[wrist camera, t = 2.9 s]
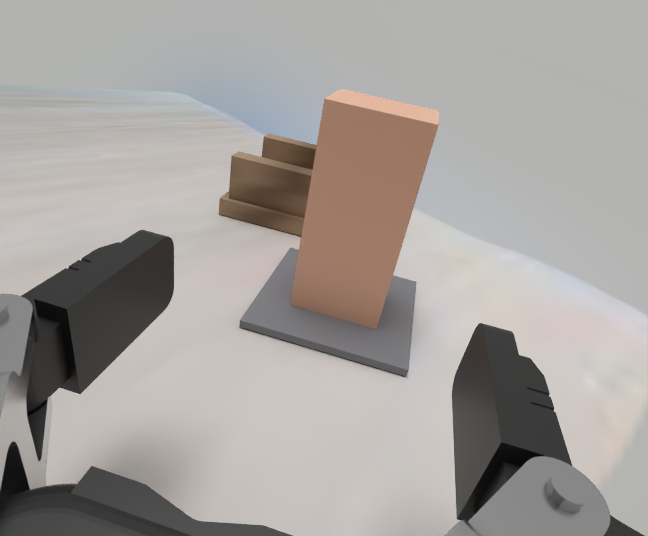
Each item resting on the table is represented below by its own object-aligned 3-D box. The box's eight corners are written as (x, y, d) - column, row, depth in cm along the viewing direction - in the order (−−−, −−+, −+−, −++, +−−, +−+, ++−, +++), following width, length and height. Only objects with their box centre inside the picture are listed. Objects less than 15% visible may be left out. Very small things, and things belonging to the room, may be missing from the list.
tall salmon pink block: (290, 304, 22) (324, 98, 17) (307, 271, 25) (341, 88, 20) (376, 329, 21) (438, 124, 16) (383, 293, 24) (438, 110, 19)
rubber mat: (239, 326, 20) (240, 320, 20) (289, 253, 27) (290, 247, 27) (405, 376, 20) (408, 370, 19) (414, 287, 26) (416, 281, 26)
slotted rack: (218, 214, 30) (222, 155, 28) (259, 180, 37) (264, 131, 35) (343, 247, 29) (356, 189, 27) (361, 206, 36) (373, 157, 34)
